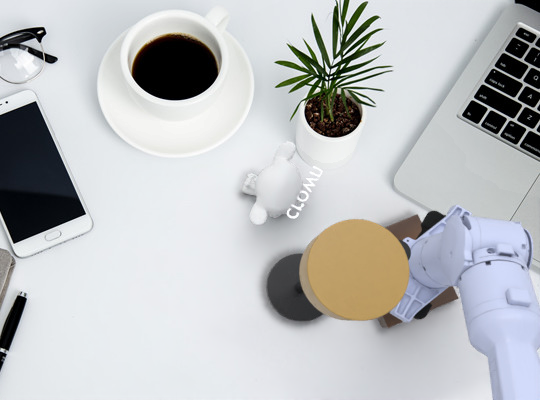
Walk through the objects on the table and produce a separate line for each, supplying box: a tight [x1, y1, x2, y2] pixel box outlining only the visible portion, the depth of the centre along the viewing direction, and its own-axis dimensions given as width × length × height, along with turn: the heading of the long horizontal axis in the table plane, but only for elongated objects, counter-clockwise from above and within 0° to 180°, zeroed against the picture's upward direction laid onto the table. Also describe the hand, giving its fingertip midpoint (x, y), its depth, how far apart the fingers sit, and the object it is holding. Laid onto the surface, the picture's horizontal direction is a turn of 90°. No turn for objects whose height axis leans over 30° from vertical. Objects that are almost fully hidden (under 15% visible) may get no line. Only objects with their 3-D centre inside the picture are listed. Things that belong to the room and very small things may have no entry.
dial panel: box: [377, 214, 459, 329], centre depth 82 cm, size 12×10×3 cm
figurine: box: [241, 140, 324, 227], centre depth 82 cm, size 12×8×10 cm
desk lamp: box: [265, 218, 411, 322], centre depth 60 cm, size 9×10×48 cm
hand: (408, 268), depth 78 cm, fingers open, 7 cm apart
